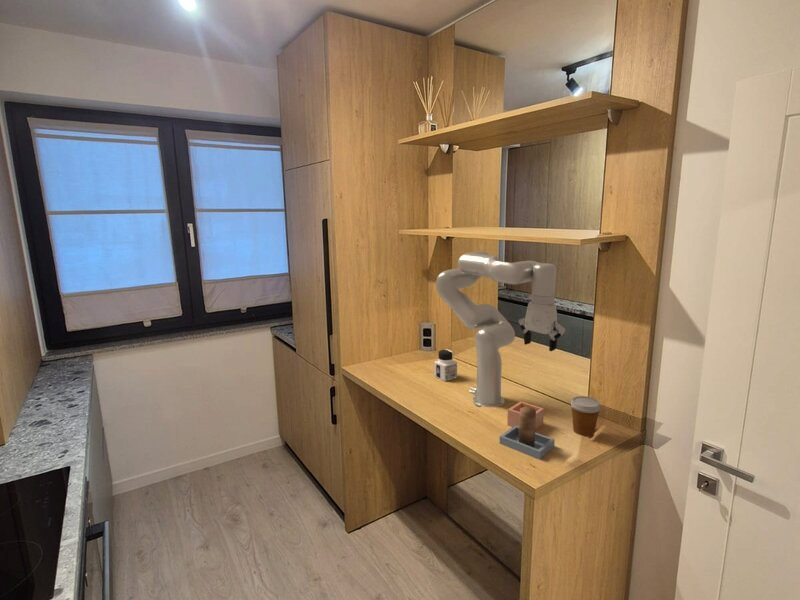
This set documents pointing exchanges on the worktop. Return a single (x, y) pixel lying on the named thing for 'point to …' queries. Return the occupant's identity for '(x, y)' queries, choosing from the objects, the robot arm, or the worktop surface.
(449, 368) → the container
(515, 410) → the terracotta open box
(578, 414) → the disposable coffee cup
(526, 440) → the peg
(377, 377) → the worktop surface
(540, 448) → the tray
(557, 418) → the worktop surface
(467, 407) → the worktop surface
